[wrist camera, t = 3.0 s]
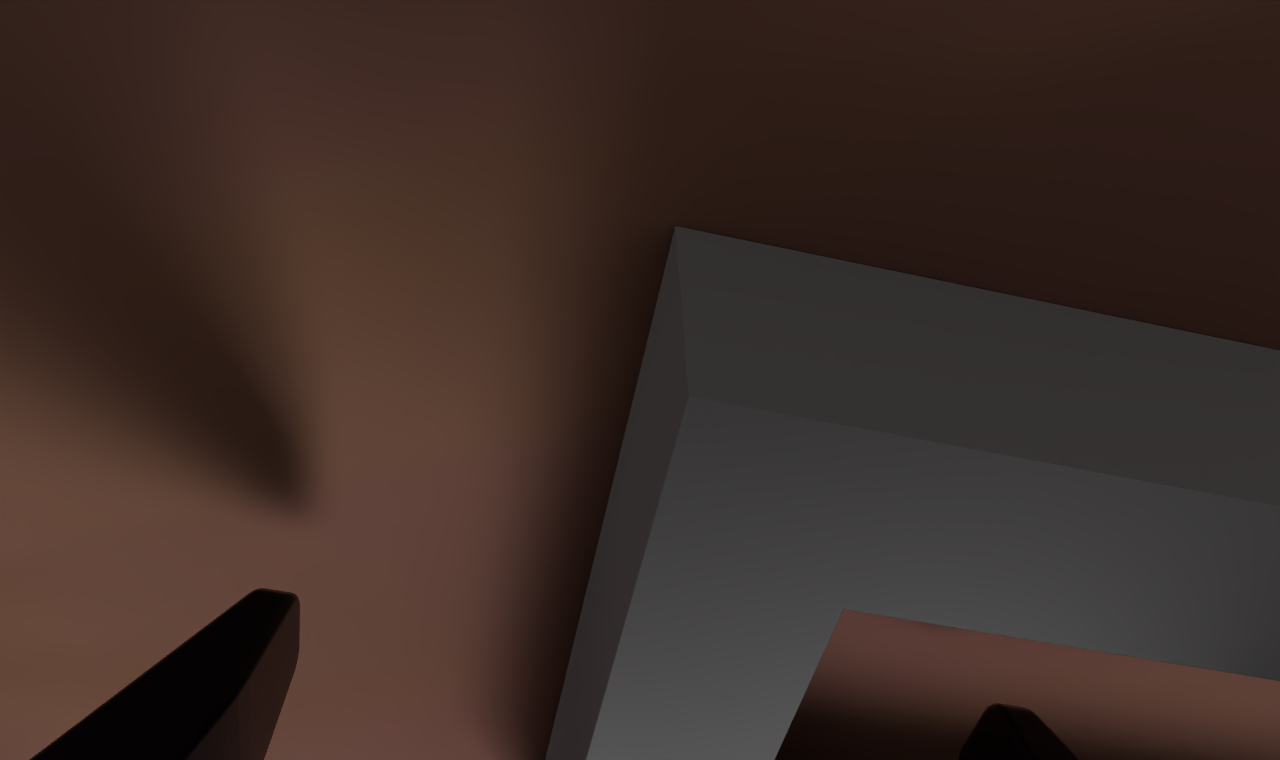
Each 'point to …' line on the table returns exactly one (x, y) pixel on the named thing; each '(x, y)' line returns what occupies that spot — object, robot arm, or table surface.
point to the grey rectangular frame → (909, 493)
